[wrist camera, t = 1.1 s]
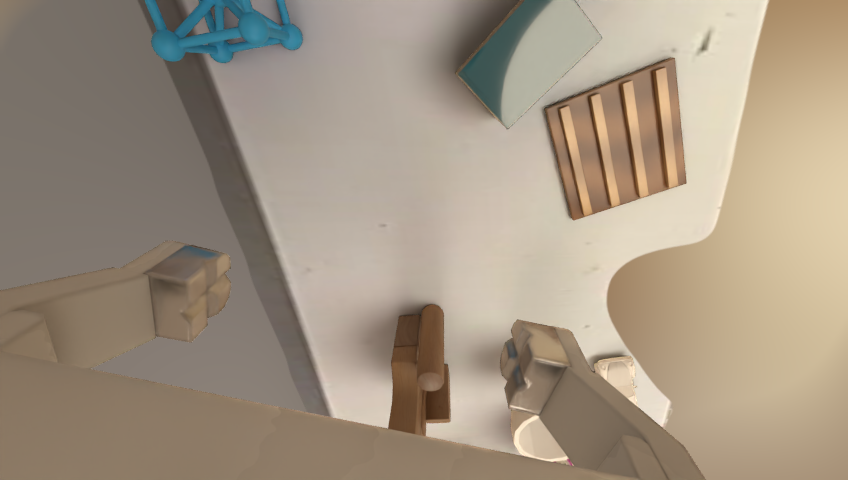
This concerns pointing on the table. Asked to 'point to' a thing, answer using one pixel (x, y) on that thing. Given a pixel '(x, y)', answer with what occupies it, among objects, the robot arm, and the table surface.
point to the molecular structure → (222, 31)
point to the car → (619, 374)
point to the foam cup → (534, 438)
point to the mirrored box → (527, 56)
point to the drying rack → (619, 140)
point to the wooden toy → (419, 373)
